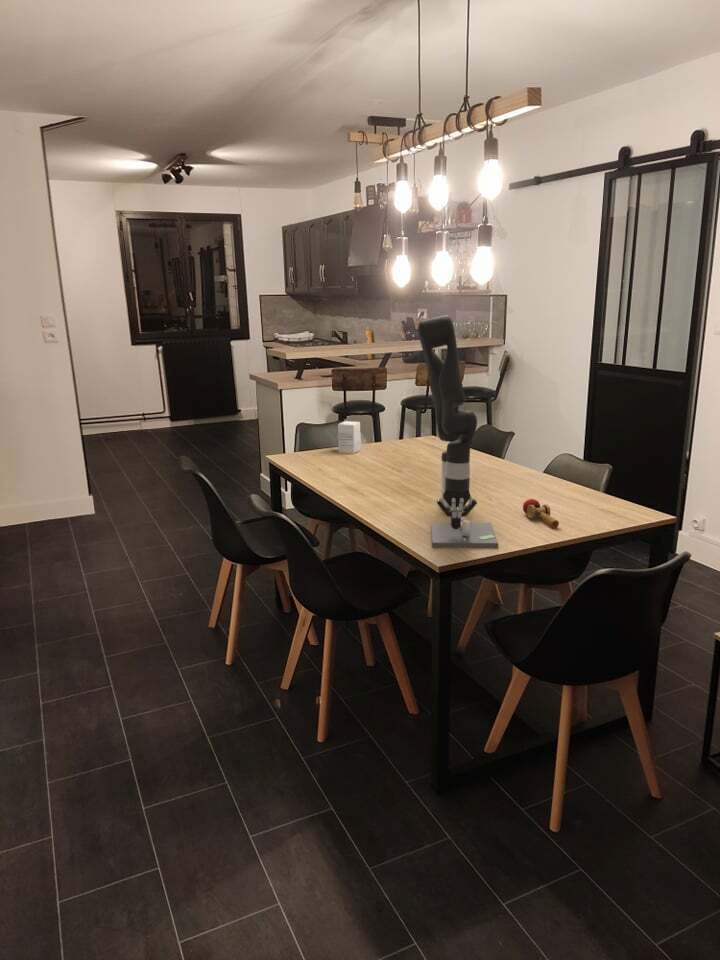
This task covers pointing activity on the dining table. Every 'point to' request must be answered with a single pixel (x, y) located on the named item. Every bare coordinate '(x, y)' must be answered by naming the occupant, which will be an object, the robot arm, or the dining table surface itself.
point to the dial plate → (450, 537)
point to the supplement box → (349, 436)
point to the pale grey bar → (465, 526)
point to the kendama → (539, 512)
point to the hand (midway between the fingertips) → (455, 528)
